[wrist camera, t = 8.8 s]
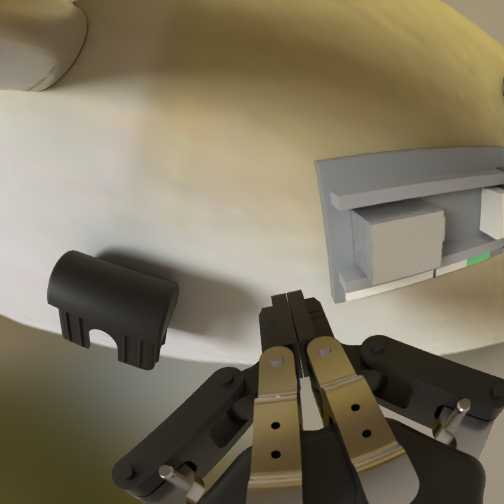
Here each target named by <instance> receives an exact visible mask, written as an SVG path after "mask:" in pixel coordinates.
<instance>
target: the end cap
mask: <svg viewBox="0 0 504 504" xmlns="http://www.w3.org/2000/svg"><path fill="white" fill-rule="evenodd" d="M178 292H179V286H178V284H177V283H175V282H171V281H168V280H165V279H161V278H158V277H155V276H151V275H148V274H145V273H142V272H138V271H135V270H132V269H129V268H126V267H123V266H120V265H116V264H113V263H110V262H107V261H104V260H101V259H98V258H95V257H92V256H90V255H87V254H84V253H81V252H78V251H74V250H72V251H68V252H66V253H65V254H64V255H63V256H62V257H61V258H60V259H59V260H58V262H57V263H56V265H55V267H54V268H53V271H52V273H51V276H50V279H49V284H48V290H47V301H48V304H50V305H52V306H55V307H57V308H58V309H59V316H60V323H61V329H62V335H63V337H64V338H65V339H67V340H69V341H71V342H74V343H76V344H78V345H80V346H82V347H85V348H87V349H89V347H90V338H89V331H90V330H92V329H98V330H102V331H104V332H105V333H107V334H108V335H110V336H111V337H112V338H113V339H114V341H115V342H116V344H117V347H118V360H119V361H121V362H123V363H126V364H129V365H132V366H135V367H138V368H141V369H144V370H151V369H153V368H154V366H155V363H156V362H158V361H159V355H160V348H161V346H162V345H163V344H165V339H166V333H167V327H168V325H169V321H170V318H171V316H172V313H173V311H174V308H175V306H176V303H177V299H178Z"/></svg>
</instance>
